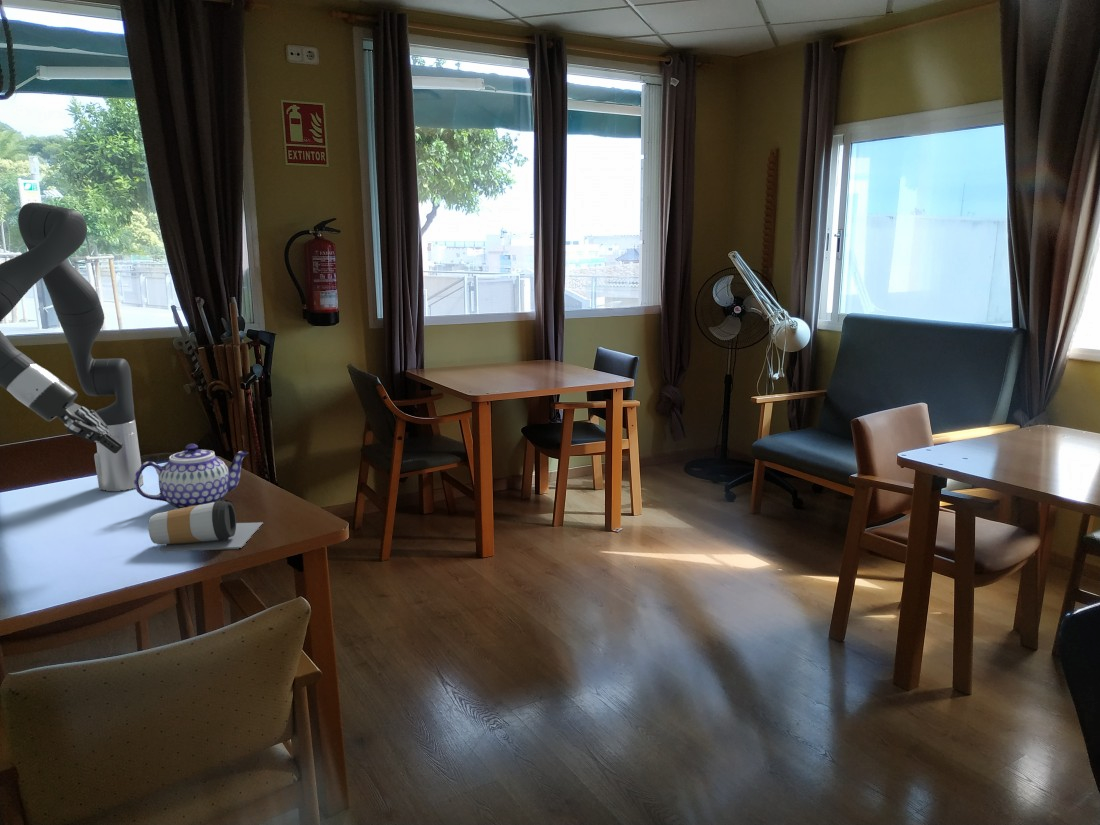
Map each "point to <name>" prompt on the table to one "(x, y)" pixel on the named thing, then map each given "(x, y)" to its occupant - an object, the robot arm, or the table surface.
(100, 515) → the table surface
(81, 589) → the table surface
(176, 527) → the coffee cup
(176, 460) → the teapot
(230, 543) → the mat
